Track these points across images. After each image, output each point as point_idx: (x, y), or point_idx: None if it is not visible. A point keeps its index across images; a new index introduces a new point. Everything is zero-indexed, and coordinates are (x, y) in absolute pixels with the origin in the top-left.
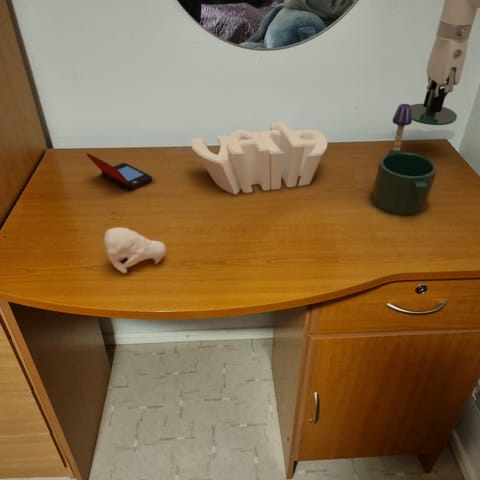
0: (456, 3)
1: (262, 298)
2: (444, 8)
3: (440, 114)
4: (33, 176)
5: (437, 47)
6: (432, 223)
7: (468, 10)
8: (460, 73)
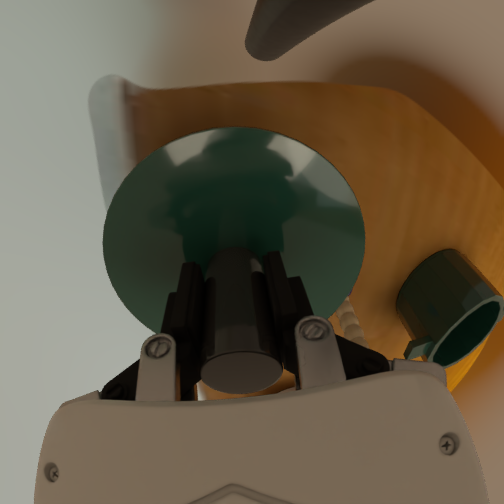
0: None
1: (466, 370)
2: None
3: (253, 225)
4: None
5: None
6: (485, 252)
7: None
8: (474, 457)
